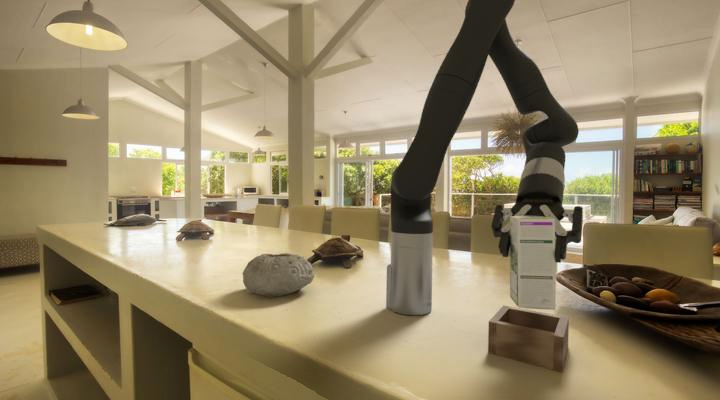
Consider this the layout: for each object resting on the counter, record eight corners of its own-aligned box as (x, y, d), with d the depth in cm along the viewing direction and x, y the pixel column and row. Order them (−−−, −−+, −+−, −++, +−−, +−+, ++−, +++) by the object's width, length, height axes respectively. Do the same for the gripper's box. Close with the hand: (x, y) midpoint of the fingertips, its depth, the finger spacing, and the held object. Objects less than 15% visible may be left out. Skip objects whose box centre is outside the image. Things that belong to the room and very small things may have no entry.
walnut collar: (488, 352, 55) (488, 321, 55) (503, 332, 63) (503, 305, 63) (562, 372, 49) (563, 337, 49) (568, 346, 57) (568, 317, 57)
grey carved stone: (261, 282, 98) (261, 247, 98) (321, 285, 95) (321, 249, 95) (228, 300, 80) (229, 258, 80) (301, 305, 78) (302, 261, 77)
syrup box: (557, 310, 53) (558, 217, 53) (516, 308, 54) (517, 216, 54) (544, 299, 59) (545, 215, 58) (508, 297, 60) (509, 215, 60)
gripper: (497, 173, 66) (480, 238, 57) (586, 170, 58) (582, 246, 49) (503, 200, 71) (488, 265, 61) (586, 201, 62) (583, 276, 53)
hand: (530, 256), depth 55 cm, fingers closed on syrup box, 7 cm apart
